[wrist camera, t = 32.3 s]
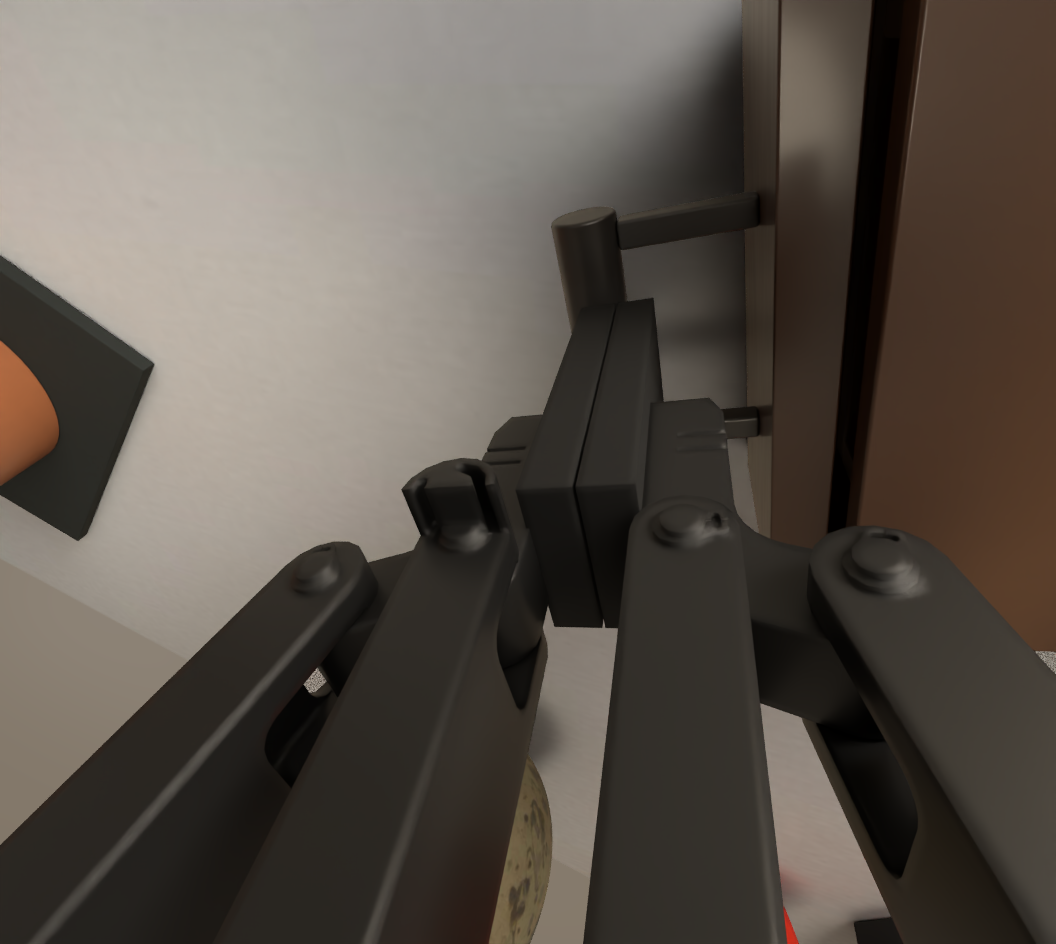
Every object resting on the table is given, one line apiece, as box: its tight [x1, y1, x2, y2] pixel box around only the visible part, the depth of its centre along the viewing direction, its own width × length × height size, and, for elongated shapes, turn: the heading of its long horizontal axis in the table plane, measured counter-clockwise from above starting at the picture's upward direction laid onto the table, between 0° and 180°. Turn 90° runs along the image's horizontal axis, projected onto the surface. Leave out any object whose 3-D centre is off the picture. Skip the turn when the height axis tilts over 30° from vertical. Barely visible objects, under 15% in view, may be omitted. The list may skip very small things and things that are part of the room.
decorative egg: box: [489, 755, 552, 944], centre depth 29 cm, size 11×11×15 cm
